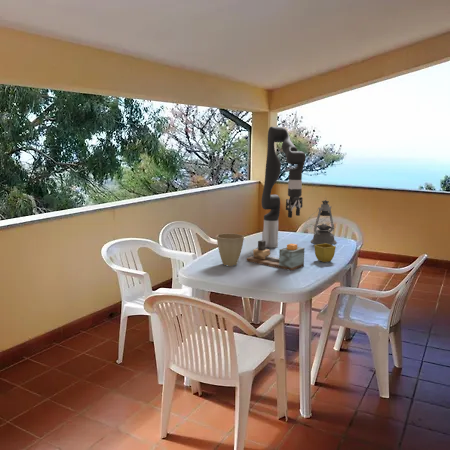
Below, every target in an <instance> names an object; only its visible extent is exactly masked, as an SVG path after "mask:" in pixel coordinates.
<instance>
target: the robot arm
mask: <svg viewBox="0 0 450 450" xmlns="http://www.w3.org/2000/svg"><path fill="white" fill-rule="evenodd" d="M267 132H268V133H267V149H266V150H267V151H266V152H267V153H266V154H267V155H266V163H265V170H264V171H265V172H264V182H263V183H264V184H263V191H262V194H261V208H262V209H263V210H269V212H268V213H266V214H264V215H263V230H262V233H261V240H262V241H266V244H265V248H270V249H271V248H273V249H274V248H278V245H279V244H278V243H279V218H280V211H281V210H280V209H281V198H280V196H279V195H278V194H272V191H273V187H274V185H275V183H277V181H278V179H279V178H280V175H281V172H282V164H281V160H280V158H279V156H278V154H277V152H276V149H275V143H282V144H281V150H282V152H283V153H284V155H285V159H286V161H285V162H287V164H289V165H296V167H294V168H290V169H289V171H288V182H287V196H288V197H289V198H287V199H286V200H285V201H286V202H285V211H287V218H289V219H290V218H293V209H294V208H295V216H298V217H299V216H301V209H302V208H303V199H304V198H303V197H302V192H303V191H302V189H303V188H302V187H303V184H302V183H303V181H302V179H303V176H302V175H303V170H304V166H305V163H306V159H307V155H306V153H305V152H304V151H298V148H297V147H296V145H295V144H294V143H293V141H292V139H291V136H290V134H289V132H288V129H287V128H286V127H284V126H270V127H269V128H268V131H267Z"/></svg>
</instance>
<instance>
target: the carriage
mask: <svg viewBox="0 0 450 450" xmlns="http://www.w3.org/2000/svg"><path fill="white" fill-rule="evenodd" d="M265 244H266V241H262V239H260V240H258V241H257V248H255V249H253V250H252V251H253V255H255V257H256V258H261V259H265V256H270V255H271V251H270V249H267V248H266V247H265Z"/></svg>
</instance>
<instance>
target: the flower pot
mask: <svg viewBox="0 0 450 450" xmlns="http://www.w3.org/2000/svg"><path fill="white" fill-rule="evenodd" d="M313 246H314V255H315V257H316V259H317V260H318V261H319V262H321V263H328V262H331V261H332V260H333V258H334V257H335V254H336V248H337V247H336V245H330V244H326V243H325V244H313Z"/></svg>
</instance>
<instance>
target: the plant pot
mask: <svg viewBox="0 0 450 450" xmlns="http://www.w3.org/2000/svg"><path fill="white" fill-rule="evenodd" d="M244 241H245V236H244V235H242V234H239V233H220V234H217V235H216V242H217V248H218V253H219V256H220V259H221V262H222V264H224V265H223V266H225V265H228V266H227V267H234V266H233V265H235V266H237V264H238V262H239V259H240V256H241V253H242V249H243V245H244Z"/></svg>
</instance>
